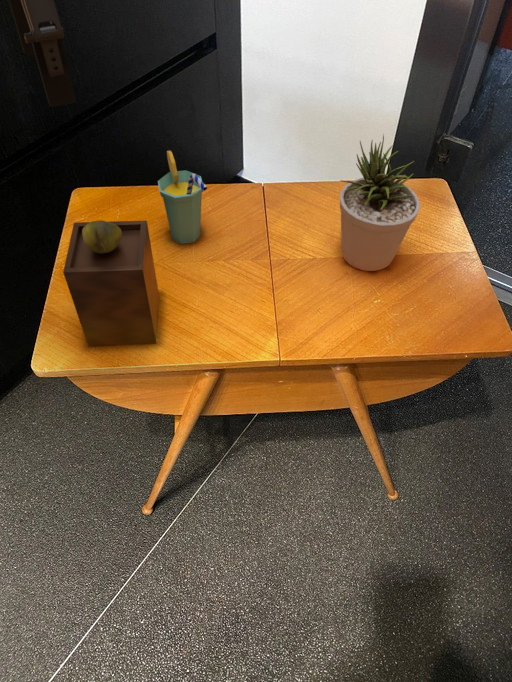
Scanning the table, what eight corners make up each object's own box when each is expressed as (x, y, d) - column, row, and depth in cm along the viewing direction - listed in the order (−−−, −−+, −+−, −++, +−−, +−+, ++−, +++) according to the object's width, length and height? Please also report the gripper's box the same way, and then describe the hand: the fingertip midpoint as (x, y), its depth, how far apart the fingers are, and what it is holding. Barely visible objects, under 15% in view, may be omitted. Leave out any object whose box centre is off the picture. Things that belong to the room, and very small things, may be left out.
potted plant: (417, 245, 97) (450, 142, 82) (384, 291, 89) (414, 186, 74) (353, 220, 101) (374, 117, 86) (317, 261, 94) (332, 156, 78)
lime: (81, 249, 73) (72, 219, 69) (112, 234, 75) (105, 204, 72) (99, 266, 71) (91, 236, 67) (130, 250, 73) (124, 220, 70)
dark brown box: (88, 346, 81) (62, 272, 69) (95, 298, 87) (73, 222, 75) (156, 343, 81) (142, 269, 70) (159, 295, 88) (146, 220, 76)
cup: (228, 250, 95) (226, 175, 83) (189, 267, 92) (182, 192, 80) (186, 209, 102) (179, 135, 91) (149, 224, 99) (137, 149, 88)
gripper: (59, -165, 38) (113, 121, 55) (0, -210, 53) (57, 28, 69) (-55, -159, 36) (37, 137, 53) (-85, -208, 50) (-5, 37, 67)
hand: (48, 76), depth 61 cm, fingers open, 13 cm apart
